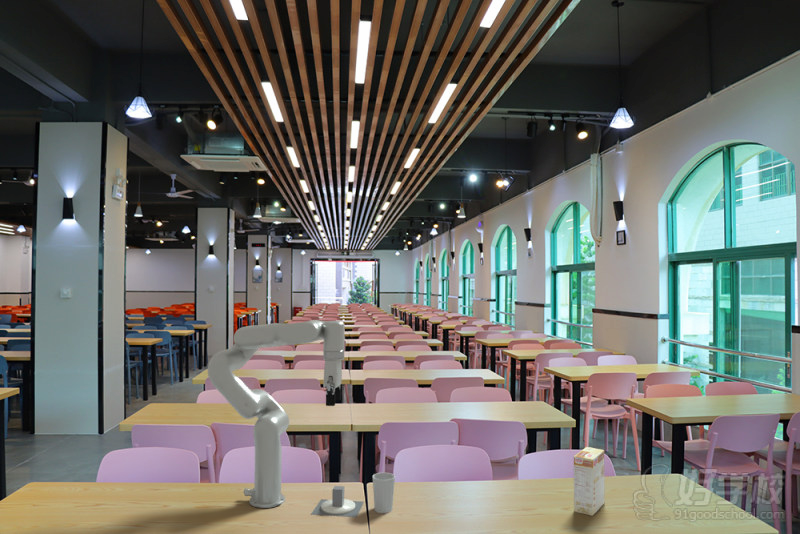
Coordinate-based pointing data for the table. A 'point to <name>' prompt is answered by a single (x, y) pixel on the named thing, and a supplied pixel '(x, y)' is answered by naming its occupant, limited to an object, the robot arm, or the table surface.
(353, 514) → the mat
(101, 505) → the table surface
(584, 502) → the coffeecake box
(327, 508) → the lid
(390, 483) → the cup
